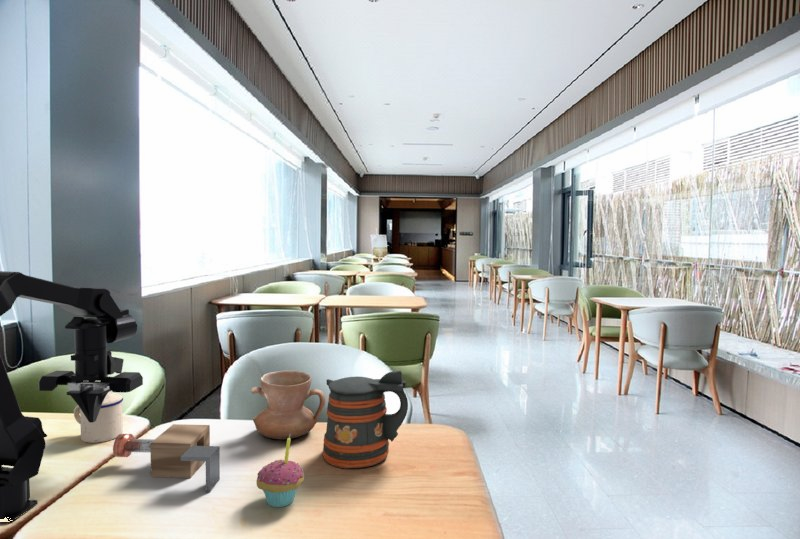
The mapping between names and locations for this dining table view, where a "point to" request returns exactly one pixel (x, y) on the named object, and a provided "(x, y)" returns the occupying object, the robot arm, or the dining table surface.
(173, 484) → the dining table surface
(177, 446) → the hitch block
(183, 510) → the dining table surface
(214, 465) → the bracket
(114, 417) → the teacup with lid
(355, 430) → the beer stein
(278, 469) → the cupcake
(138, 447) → the pin
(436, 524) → the dining table surface
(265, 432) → the ceramic jug
